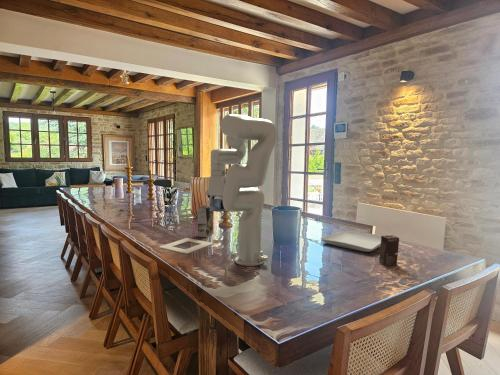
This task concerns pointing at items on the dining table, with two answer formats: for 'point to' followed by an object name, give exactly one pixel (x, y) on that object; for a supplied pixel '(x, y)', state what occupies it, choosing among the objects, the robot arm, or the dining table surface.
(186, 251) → the card
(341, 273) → the dining table surface
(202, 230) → the coffee box
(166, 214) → the dining table surface
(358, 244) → the square plate
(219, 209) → the blue cube
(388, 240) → the box
